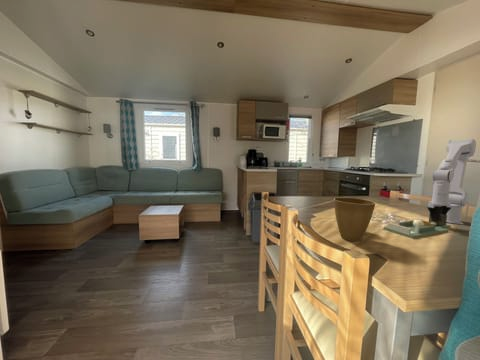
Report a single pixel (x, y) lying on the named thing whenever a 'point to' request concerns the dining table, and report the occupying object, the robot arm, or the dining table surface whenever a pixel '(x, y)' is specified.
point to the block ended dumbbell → (440, 222)
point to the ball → (418, 223)
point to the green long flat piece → (420, 229)
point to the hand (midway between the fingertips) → (437, 220)
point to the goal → (402, 228)
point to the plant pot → (353, 217)
